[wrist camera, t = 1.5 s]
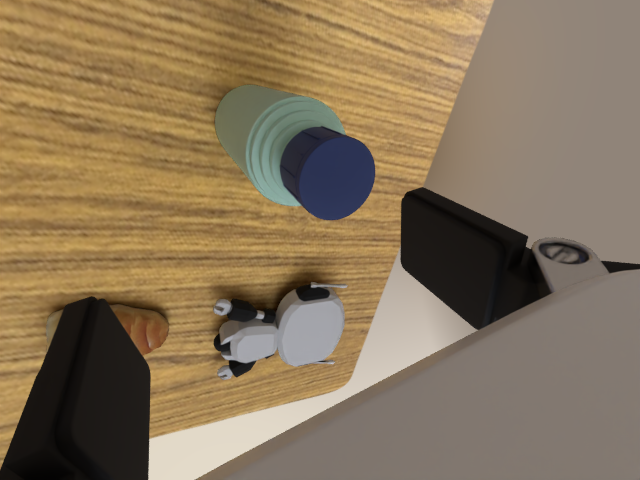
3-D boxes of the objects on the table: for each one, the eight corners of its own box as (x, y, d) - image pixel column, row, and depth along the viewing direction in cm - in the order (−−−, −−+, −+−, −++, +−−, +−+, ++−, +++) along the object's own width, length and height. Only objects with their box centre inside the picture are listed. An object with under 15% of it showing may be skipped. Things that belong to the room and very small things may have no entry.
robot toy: (214, 364, 39) (327, 341, 44) (217, 395, 35) (340, 366, 40) (208, 281, 33) (338, 266, 39) (211, 308, 30) (354, 287, 35)
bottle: (197, 121, 25) (238, 177, 13) (255, 66, 25) (350, 71, 13) (251, 176, 29) (321, 259, 17) (301, 129, 29) (408, 178, 17)
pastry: (167, 292, 31) (168, 317, 28) (169, 344, 34) (171, 372, 31) (44, 305, 27) (30, 337, 24) (59, 363, 30) (48, 398, 27)
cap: (263, 164, 16) (281, 181, 14) (322, 108, 16) (349, 116, 14) (309, 214, 18) (330, 235, 16) (360, 166, 18) (388, 181, 16)
